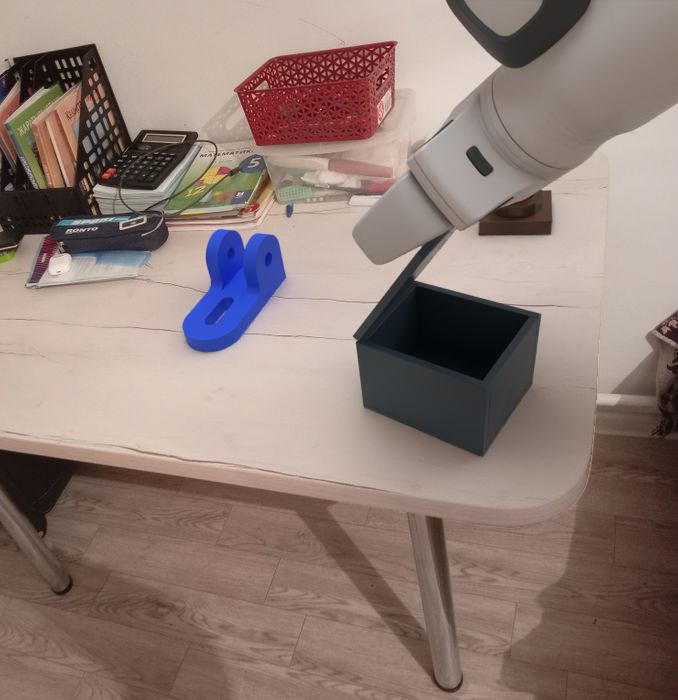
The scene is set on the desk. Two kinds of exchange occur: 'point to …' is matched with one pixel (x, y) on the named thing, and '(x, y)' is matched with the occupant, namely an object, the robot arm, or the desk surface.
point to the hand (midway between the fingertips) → (395, 224)
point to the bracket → (234, 288)
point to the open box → (449, 364)
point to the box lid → (404, 280)
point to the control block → (521, 217)
